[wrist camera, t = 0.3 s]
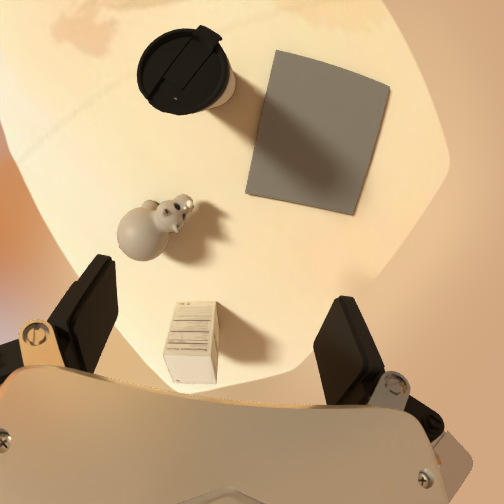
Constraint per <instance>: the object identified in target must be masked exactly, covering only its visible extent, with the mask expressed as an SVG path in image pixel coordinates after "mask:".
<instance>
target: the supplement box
mask: <svg viewBox="0 0 504 504" xmlns="http://www.w3.org/2000/svg"><path fill="white" fill-rule="evenodd" d="M219 338H220V328H219V323H218V315H217V306H216V302H215V301H200V302H176V305H175V309H174V313H173V316H172V320H171V324H170V328H169V332H168V335H167V339H166V343H165V347H164V352H163V357H164V360H165V362H166V365H167V368H168V371H169V373H170V375H171V378H172V381H173V382H174V383H186V384H216V383H217V367H218V353H219Z"/></svg>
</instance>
